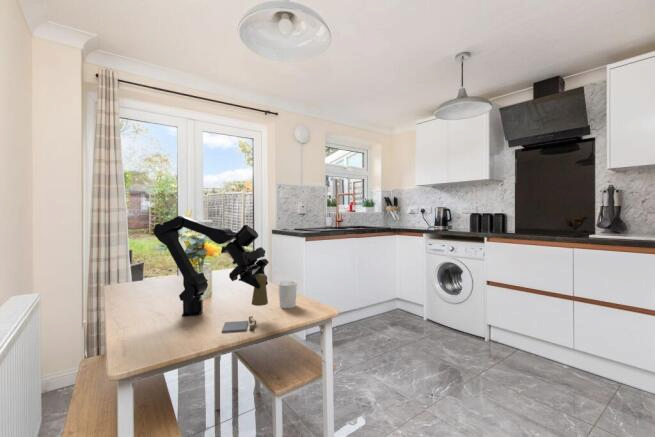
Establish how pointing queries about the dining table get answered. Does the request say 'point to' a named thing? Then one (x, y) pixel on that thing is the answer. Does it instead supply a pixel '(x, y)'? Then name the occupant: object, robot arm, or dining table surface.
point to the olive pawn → (260, 291)
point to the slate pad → (235, 326)
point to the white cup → (287, 294)
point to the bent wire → (252, 323)
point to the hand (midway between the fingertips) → (263, 286)
